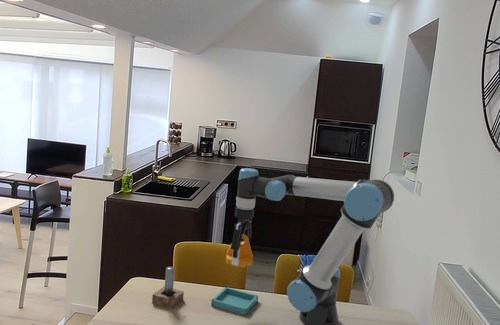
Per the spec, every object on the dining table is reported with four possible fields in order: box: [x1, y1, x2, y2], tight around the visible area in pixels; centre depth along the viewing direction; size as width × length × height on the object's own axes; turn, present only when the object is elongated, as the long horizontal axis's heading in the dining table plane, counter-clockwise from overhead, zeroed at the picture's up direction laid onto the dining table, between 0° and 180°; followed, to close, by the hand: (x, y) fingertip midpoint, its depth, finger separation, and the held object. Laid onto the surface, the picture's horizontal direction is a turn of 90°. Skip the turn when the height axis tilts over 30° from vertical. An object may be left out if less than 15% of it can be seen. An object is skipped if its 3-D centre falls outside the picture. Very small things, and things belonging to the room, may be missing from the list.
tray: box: [210, 286, 259, 316], centre depth 187 cm, size 15×14×2 cm
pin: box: [164, 266, 176, 297], centre depth 182 cm, size 3×3×14 cm
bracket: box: [225, 233, 254, 268], centre depth 184 cm, size 11×7×12 cm, turn 91°
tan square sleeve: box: [151, 285, 185, 309], centre depth 183 cm, size 9×9×4 cm
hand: (239, 260), depth 185 cm, fingers closed on bracket, 9 cm apart
